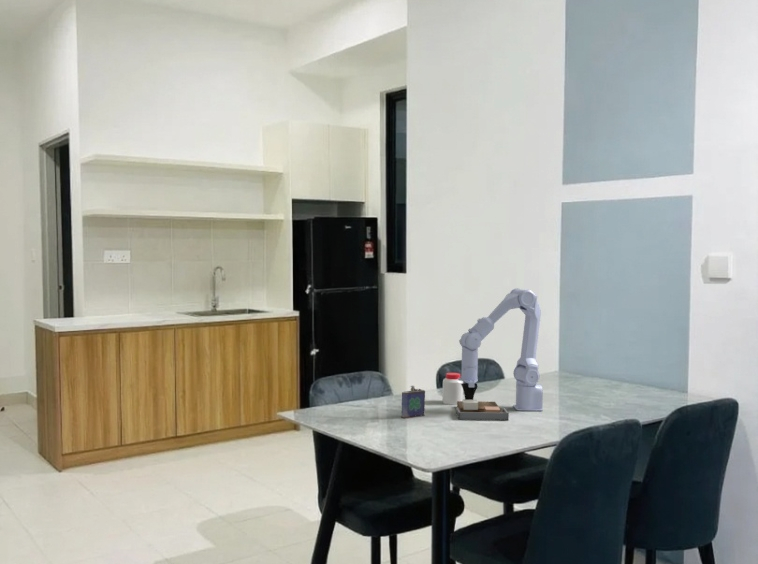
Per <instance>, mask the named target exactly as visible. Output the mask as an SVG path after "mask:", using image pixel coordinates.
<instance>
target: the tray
mask: <svg viewBox="0 0 758 564" xmlns="http://www.w3.org/2000/svg"><path fill="white" fill-rule="evenodd" d="M456 414H457V415H456ZM455 415H456V417H457V419H458V421H509V419H510V415H509V412H508V410H507V409H506V408H505V407H502V412H500V413H485V412H460V410H459V408H458V407H457V406H456V407H455Z"/></svg>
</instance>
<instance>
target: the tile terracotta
mask: <svg viewBox="0 0 758 564" xmlns="http://www.w3.org/2000/svg"><path fill="white" fill-rule="evenodd" d="M484 412H485V413H501V408H500V407H499V406H498V407H486V406H484Z"/></svg>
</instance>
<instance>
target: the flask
mask: <svg viewBox="0 0 758 564" xmlns="http://www.w3.org/2000/svg"><path fill="white" fill-rule="evenodd" d="M409 388H410V390H406V391H401V416H400V417H401V418H402V419H410V418H411V419H412V418H418V417H424V416H425V407H426V406H425V404H426V403H425V402H426V401H425V400H426V390H424V389H421V388H415V385H410V386H409Z"/></svg>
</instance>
